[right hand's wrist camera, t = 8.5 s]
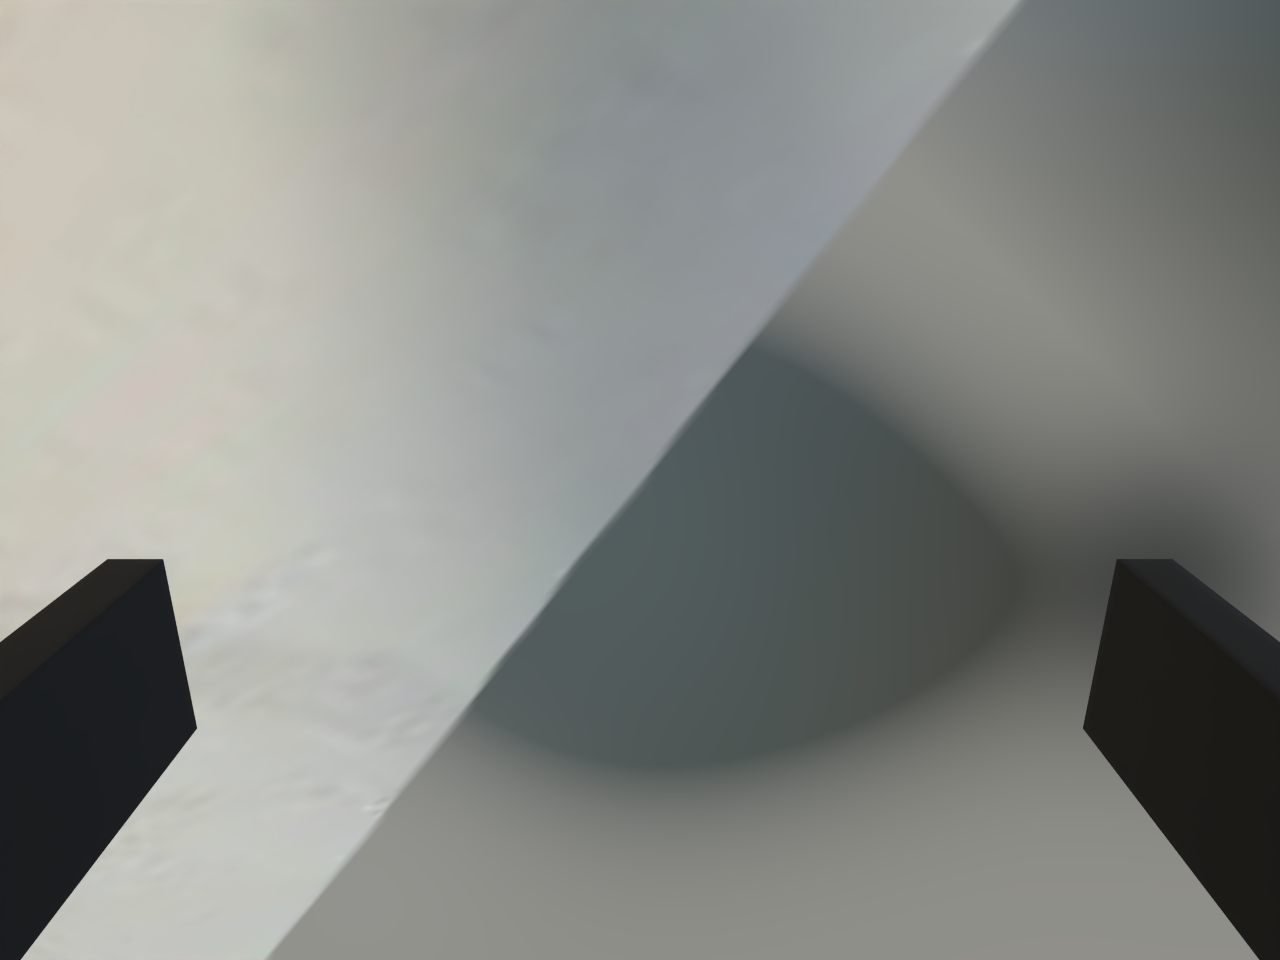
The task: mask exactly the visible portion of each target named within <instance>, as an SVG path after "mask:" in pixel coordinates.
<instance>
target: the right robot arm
mask: <svg viewBox="0 0 1280 960" xmlns="http://www.w3.org/2000/svg"><path fill="white" fill-rule="evenodd" d="M196 729H197V726H196V721H195V716H194V711H193V706H192V701H191V696H190V691H189V686H188V681H187V676H186V671H185V666H184V661H183V656H182V651H181V646H180V641H179V636H178V631H177V626H176V621H175V616H174V611H173V606H172V601H171V596H170V591H169V586H168V581H167V576H166V571H165V566H164V561H163V559H107V560H106V561H105V562H103V563H102V564H101V565H99V566H98V567H97V568H96V569H94V570H93V571H92V572H90V573H89V574H88V575H87V576H85V577H84V578H83V579H81V580H80V581H79V582H77V583H76V584H75V585H74V586H72V587H71V588H70V589H68V590H67V591H66V592H65V593H63V594H62V595H61V596H59V597H58V598H57V599H56V600H54V601H53V602H52V603H50V604H49V605H48V606H46V607H45V608H44V609H43V610H41V611H40V612H39V613H37V614H36V615H35V616H34V617H32V618H31V619H30V620H28V621H27V622H26V623H24V624H23V625H22V626H21V627H19V628H18V629H17V630H15V631H14V632H13V633H12V634H10V635H9V636H8V637H6V638H5V639H4V640H3V641H1V642H0V960H21V959H22V957H23V956H24V955H25V953H26V952H27V951H28V949H29V948H30V947H31V945H32V944H33V943H34V941H35V940H36V939H37V938H38V936H39V935H40V934H41V932H42V931H43V930H44V928H45V927H46V926H47V924H48V923H49V922H50V920H51V919H52V918H53V917H54V915H55V914H56V913H57V911H58V910H59V909H60V907H61V906H62V905H63V903H64V902H65V901H66V899H67V898H68V897H69V896H70V894H71V893H72V892H73V890H74V889H75V888H76V886H77V885H78V884H79V882H80V881H81V880H82V879H83V877H84V876H85V875H86V873H87V872H88V871H89V869H90V868H91V867H92V865H93V864H94V863H95V861H96V860H97V859H98V858H99V856H100V855H101V854H102V852H103V851H104V850H105V848H106V847H107V846H108V844H109V843H110V842H111V840H112V839H113V838H114V837H115V835H116V834H117V833H118V831H119V830H120V829H121V827H122V826H123V825H124V823H125V822H126V821H127V819H128V818H129V817H130V816H131V814H132V813H133V812H134V810H135V809H136V808H137V806H138V805H139V804H140V802H141V801H142V800H143V799H144V797H145V796H146V795H147V793H148V792H149V791H150V789H151V788H152V787H153V785H154V784H155V783H156V781H157V780H158V779H159V778H160V776H161V775H162V774H163V772H164V771H165V770H166V768H167V767H168V766H169V764H170V763H171V762H172V760H173V759H174V758H175V757H176V755H177V754H178V753H179V751H180V750H181V749H182V747H183V746H184V745H185V743H186V742H187V741H188V739H189V738H190V737H191V736H192V734H193V733H194V732H195V730H196ZM1083 729H1084V730H1085V732H1086V733H1087V734H1088V735H1089V737H1090V738H1091V739H1092V741H1093V742H1094V743H1095V745H1096V746H1097V747H1098V749H1099V750H1100V751H1101V753H1102V754H1103V755H1104V757H1105V758H1106V759H1107V760H1108V762H1109V763H1110V764H1111V766H1112V767H1113V768H1114V770H1115V771H1116V772H1117V774H1118V775H1119V776H1120V777H1121V779H1122V780H1123V781H1124V783H1125V784H1126V785H1127V787H1128V788H1129V789H1130V791H1131V792H1132V793H1133V795H1134V796H1135V797H1136V799H1137V800H1138V801H1139V802H1140V804H1141V805H1142V806H1143V808H1144V809H1145V810H1146V812H1147V813H1148V814H1149V816H1150V817H1151V818H1152V819H1153V821H1154V822H1155V823H1156V825H1157V826H1158V827H1159V829H1160V830H1161V831H1162V833H1163V834H1164V835H1165V836H1166V838H1167V839H1168V840H1169V842H1170V843H1171V844H1172V846H1173V847H1174V848H1175V850H1176V851H1177V852H1178V854H1179V855H1180V856H1181V857H1182V859H1183V860H1184V861H1185V863H1186V864H1187V865H1188V867H1189V868H1190V869H1191V871H1192V872H1193V873H1194V875H1195V876H1196V877H1197V879H1198V880H1199V881H1200V882H1201V884H1202V885H1203V886H1204V888H1205V889H1206V890H1207V892H1208V893H1209V894H1210V896H1211V897H1212V898H1213V899H1214V901H1215V902H1216V903H1217V905H1218V906H1219V907H1220V909H1221V910H1222V911H1223V913H1224V914H1225V915H1226V917H1227V918H1228V919H1229V920H1230V922H1231V923H1232V924H1233V926H1234V927H1235V928H1236V930H1237V931H1238V932H1239V934H1240V935H1241V936H1242V938H1243V939H1244V940H1245V941H1246V943H1247V944H1248V945H1249V947H1250V948H1251V949H1252V951H1253V952H1254V953H1255V955H1256V956H1257V957H1258V959H1259V960H1280V642H1279V641H1277V640H1276V639H1275V638H1274V637H1272V636H1271V635H1270V634H1268V633H1267V632H1266V631H1265V630H1263V629H1262V628H1261V627H1259V626H1258V625H1257V624H1256V623H1254V622H1253V621H1252V620H1250V619H1249V618H1248V617H1246V616H1245V615H1244V614H1243V613H1241V612H1240V611H1239V610H1237V609H1236V608H1235V607H1233V606H1232V605H1231V604H1230V603H1228V602H1227V601H1226V600H1224V599H1223V598H1222V597H1221V596H1219V595H1218V594H1217V593H1215V592H1214V591H1213V590H1212V589H1210V588H1209V587H1208V586H1206V585H1205V584H1204V583H1202V582H1201V581H1200V580H1199V579H1197V578H1196V577H1195V576H1193V575H1192V574H1191V573H1190V572H1188V571H1187V570H1186V569H1184V568H1183V567H1182V566H1181V565H1179V564H1178V563H1177V562H1175V561H1174V560H1173V559H1117V561H1116V566H1115V571H1114V576H1113V581H1112V586H1111V591H1110V596H1109V601H1108V606H1107V611H1106V616H1105V621H1104V626H1103V631H1102V636H1101V641H1100V646H1099V651H1098V656H1097V661H1096V666H1095V671H1094V676H1093V681H1092V686H1091V691H1090V696H1089V701H1088V706H1087V711H1086V716H1085V721H1084V726H1083Z"/></svg>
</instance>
